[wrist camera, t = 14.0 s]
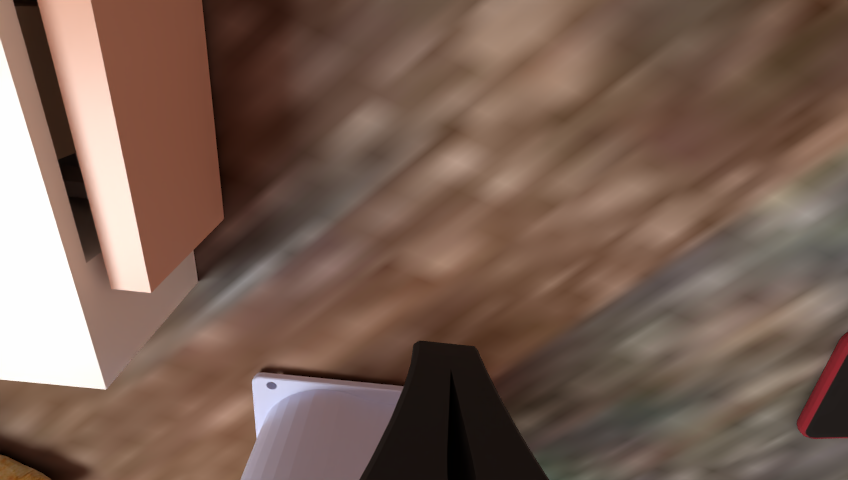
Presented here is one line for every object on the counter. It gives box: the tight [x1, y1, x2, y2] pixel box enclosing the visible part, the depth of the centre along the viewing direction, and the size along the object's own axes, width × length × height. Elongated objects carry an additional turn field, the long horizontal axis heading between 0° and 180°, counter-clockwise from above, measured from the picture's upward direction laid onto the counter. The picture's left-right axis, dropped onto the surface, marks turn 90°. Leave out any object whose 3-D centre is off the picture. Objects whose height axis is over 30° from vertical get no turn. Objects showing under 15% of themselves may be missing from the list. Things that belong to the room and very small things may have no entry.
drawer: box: [37, 0, 224, 293], centre depth 13 cm, size 9×11×5 cm
